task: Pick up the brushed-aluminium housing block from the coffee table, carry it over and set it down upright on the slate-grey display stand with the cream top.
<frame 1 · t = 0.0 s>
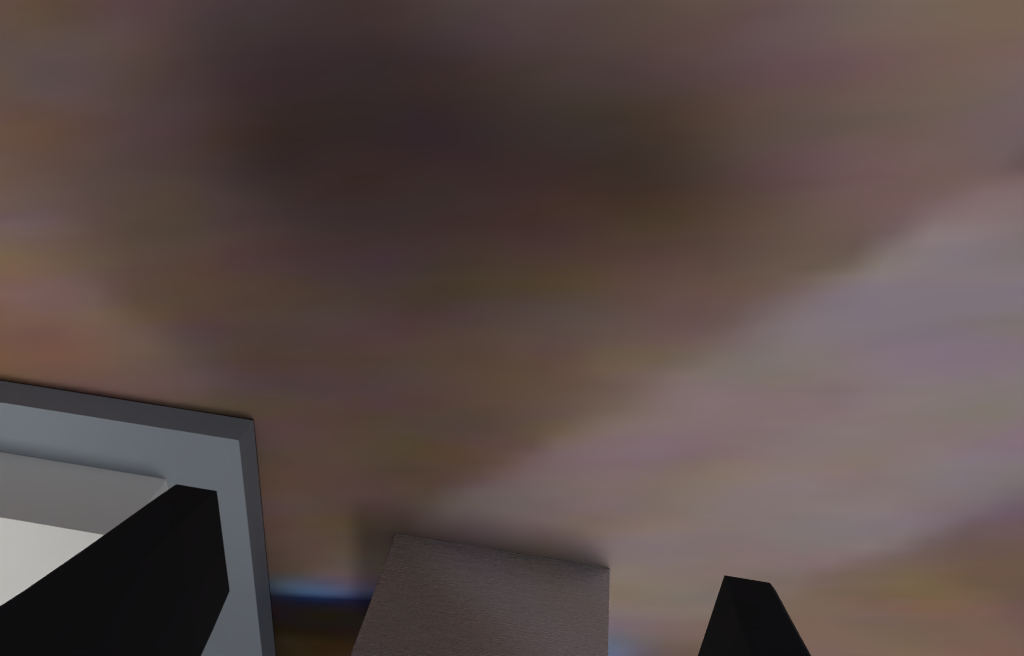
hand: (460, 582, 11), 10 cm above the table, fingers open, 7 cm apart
housing: (496, 597, 25), on the table
display stand: (46, 523, 26), on the table
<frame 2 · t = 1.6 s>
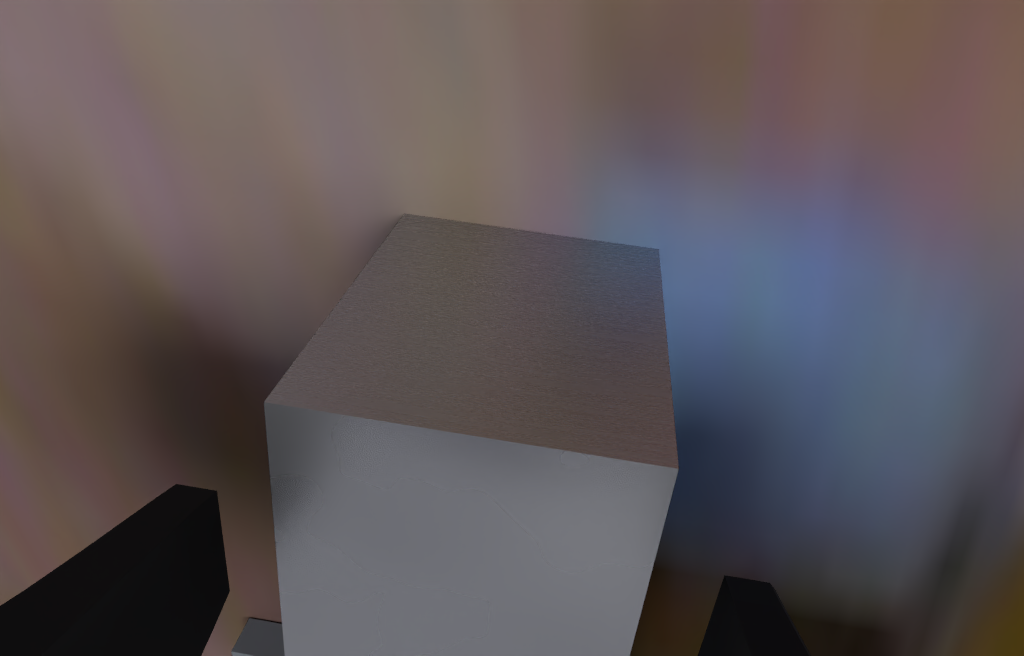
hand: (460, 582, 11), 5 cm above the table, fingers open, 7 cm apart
housing: (511, 393, 15), on the table
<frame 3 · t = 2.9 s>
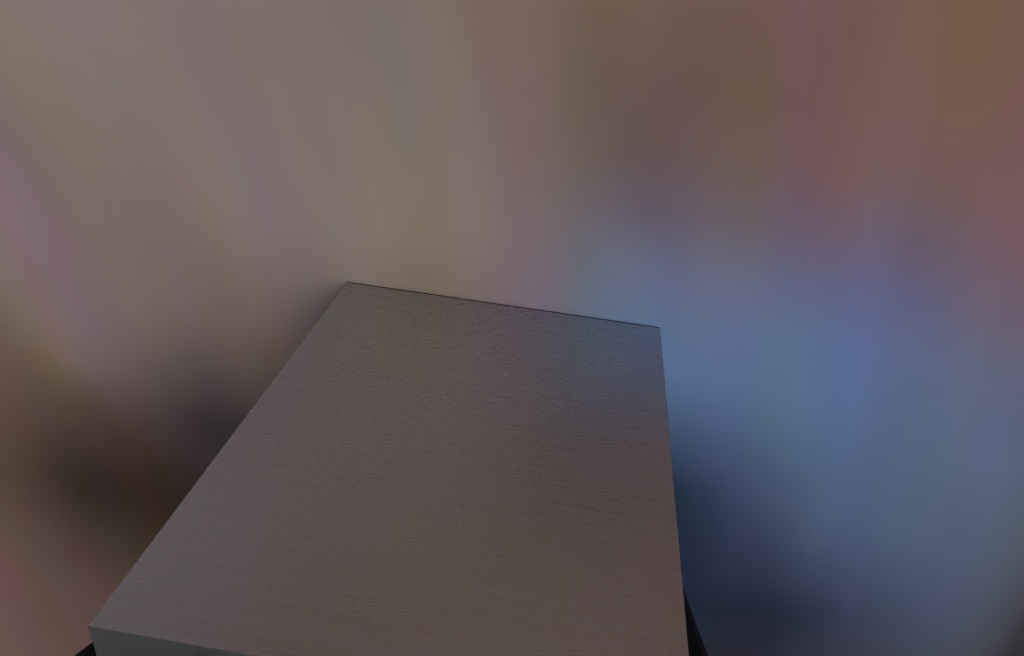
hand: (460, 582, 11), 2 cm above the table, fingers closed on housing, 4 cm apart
housing: (482, 492, 12), on the table, touching gripper
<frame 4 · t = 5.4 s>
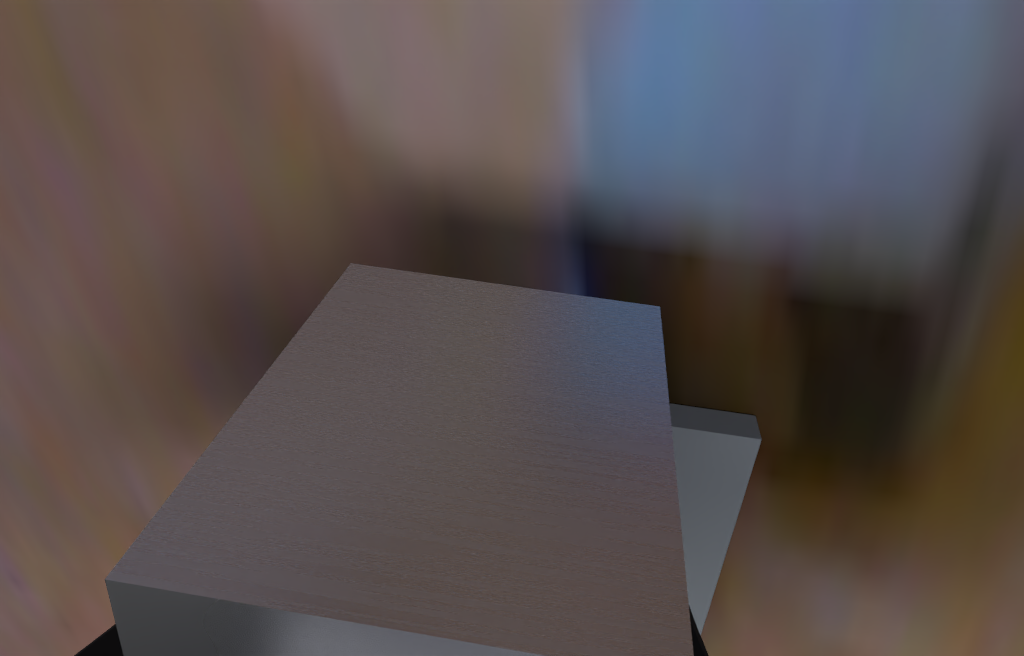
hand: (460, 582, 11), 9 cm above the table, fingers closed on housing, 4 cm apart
housing: (485, 472, 13), point 7 cm above the table, touching gripper
display stand: (499, 594, 24), on the table
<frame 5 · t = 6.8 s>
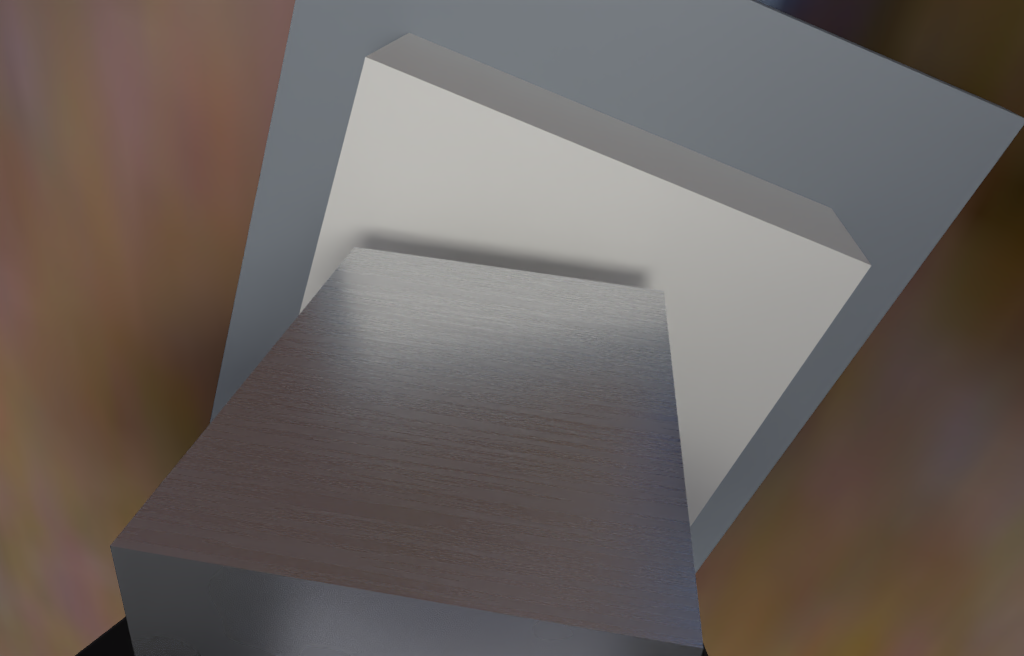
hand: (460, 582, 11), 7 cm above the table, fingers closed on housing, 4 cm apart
housing: (487, 459, 13), point 5 cm above the table, touching gripper
display stand: (519, 342, 17), on the table
when the fingers open (6 cm above the table, at t = 7.7 s): housing stays where it is, resting on display stand.
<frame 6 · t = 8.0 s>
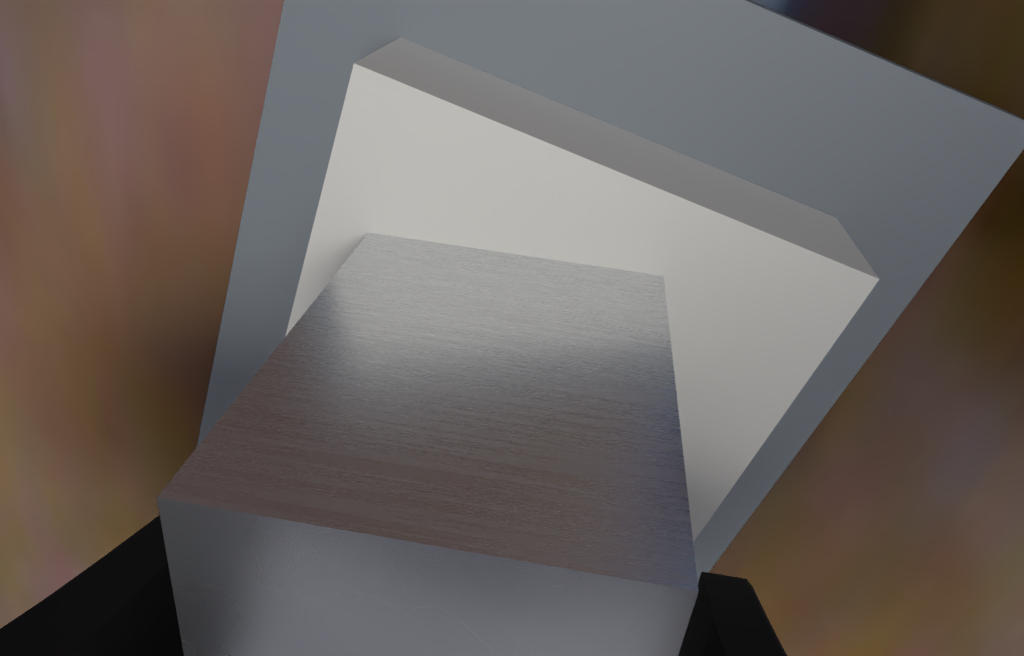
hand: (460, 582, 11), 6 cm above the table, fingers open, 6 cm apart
housing: (493, 438, 13), point 3 cm above the table, touching display stand
display stand: (516, 353, 16), on the table
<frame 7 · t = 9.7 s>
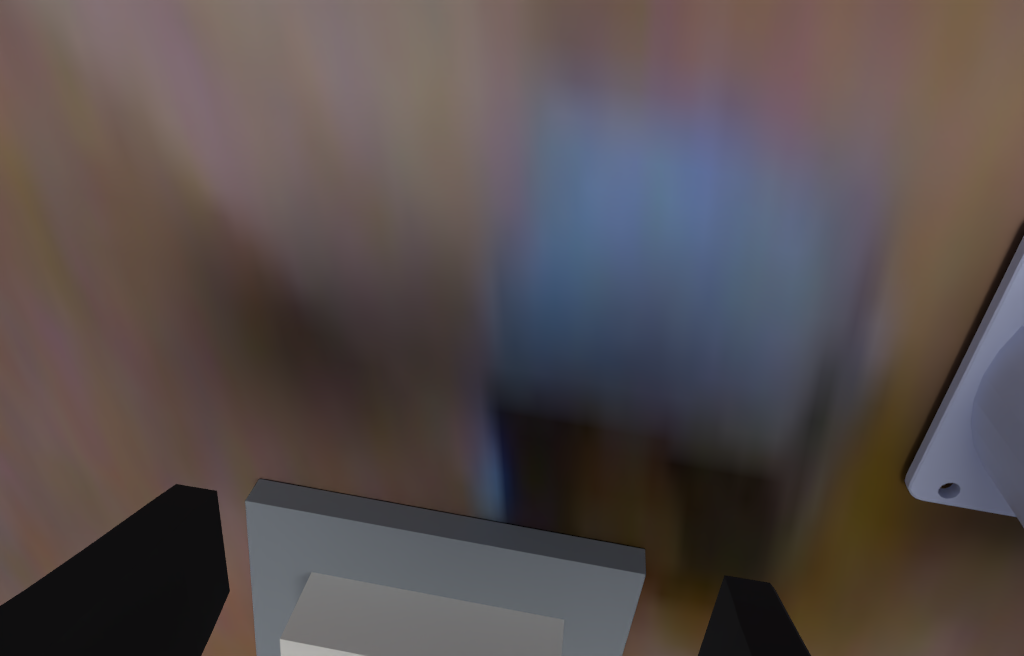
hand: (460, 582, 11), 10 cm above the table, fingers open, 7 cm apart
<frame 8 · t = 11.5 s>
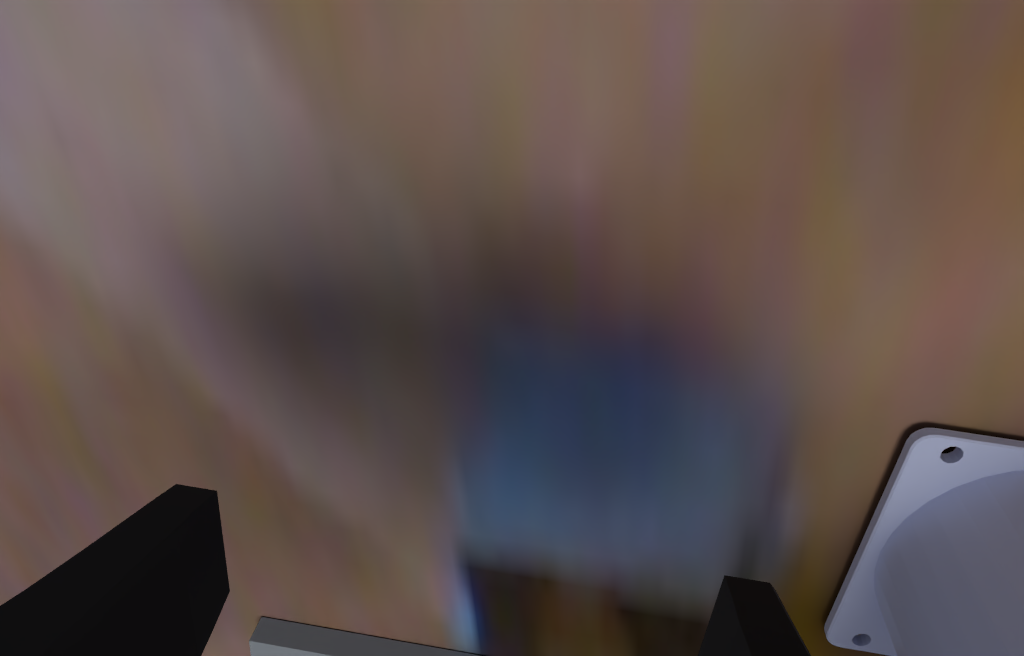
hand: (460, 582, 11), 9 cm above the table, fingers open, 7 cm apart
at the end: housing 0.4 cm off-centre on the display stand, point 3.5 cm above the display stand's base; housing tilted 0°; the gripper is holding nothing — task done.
